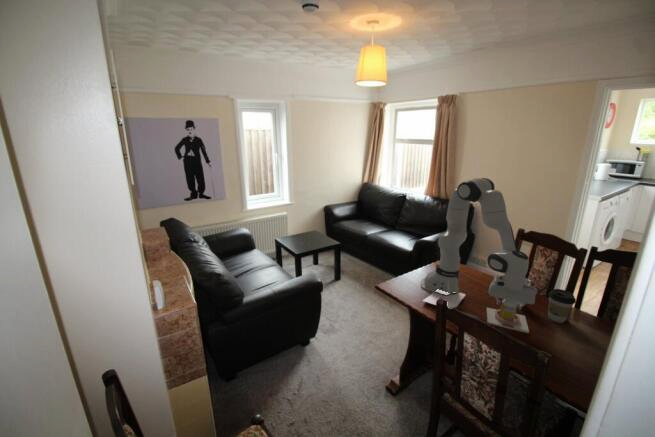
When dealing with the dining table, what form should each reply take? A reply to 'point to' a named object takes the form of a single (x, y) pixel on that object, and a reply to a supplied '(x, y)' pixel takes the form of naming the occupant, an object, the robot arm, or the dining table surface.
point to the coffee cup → (560, 304)
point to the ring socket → (517, 324)
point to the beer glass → (527, 282)
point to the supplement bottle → (508, 309)
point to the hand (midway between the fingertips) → (508, 306)
